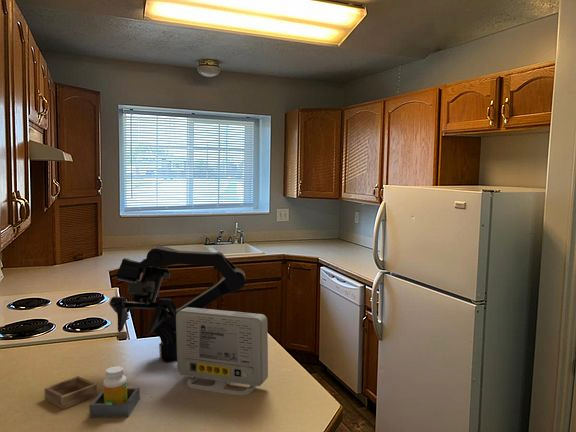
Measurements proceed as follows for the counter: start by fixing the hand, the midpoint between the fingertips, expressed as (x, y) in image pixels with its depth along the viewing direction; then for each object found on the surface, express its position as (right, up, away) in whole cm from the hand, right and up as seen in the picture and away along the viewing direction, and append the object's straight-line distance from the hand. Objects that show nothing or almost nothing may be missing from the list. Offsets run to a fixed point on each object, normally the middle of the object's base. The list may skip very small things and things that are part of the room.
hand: (134, 332), depth 133 cm
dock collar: (+2, -14, -18) cm, 23 cm away
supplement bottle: (+2, -14, -18) cm, 23 cm away
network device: (+26, -13, -5) cm, 29 cm away
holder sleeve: (-12, -14, -12) cm, 22 cm away
